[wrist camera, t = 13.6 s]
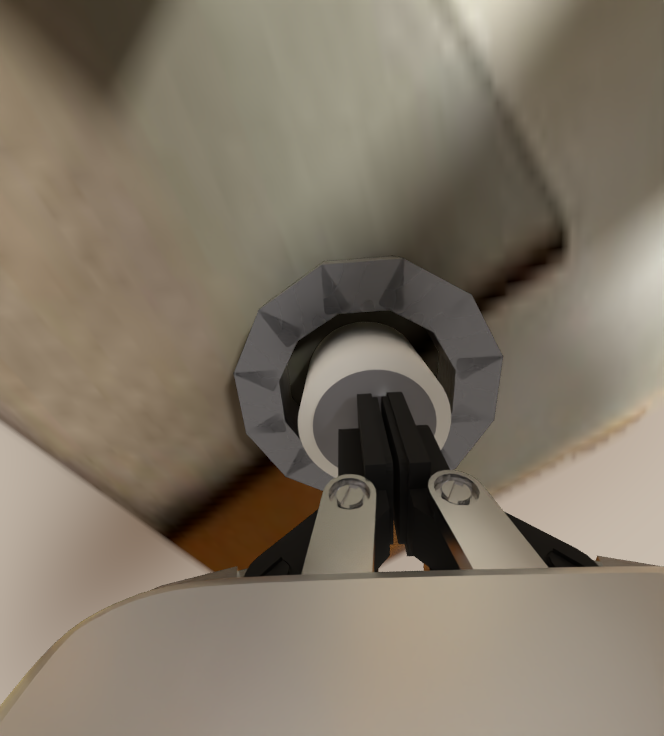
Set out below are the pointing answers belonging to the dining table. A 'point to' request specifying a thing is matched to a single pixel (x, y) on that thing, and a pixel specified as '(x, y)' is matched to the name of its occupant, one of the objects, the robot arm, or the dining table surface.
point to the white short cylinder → (364, 387)
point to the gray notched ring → (365, 294)
